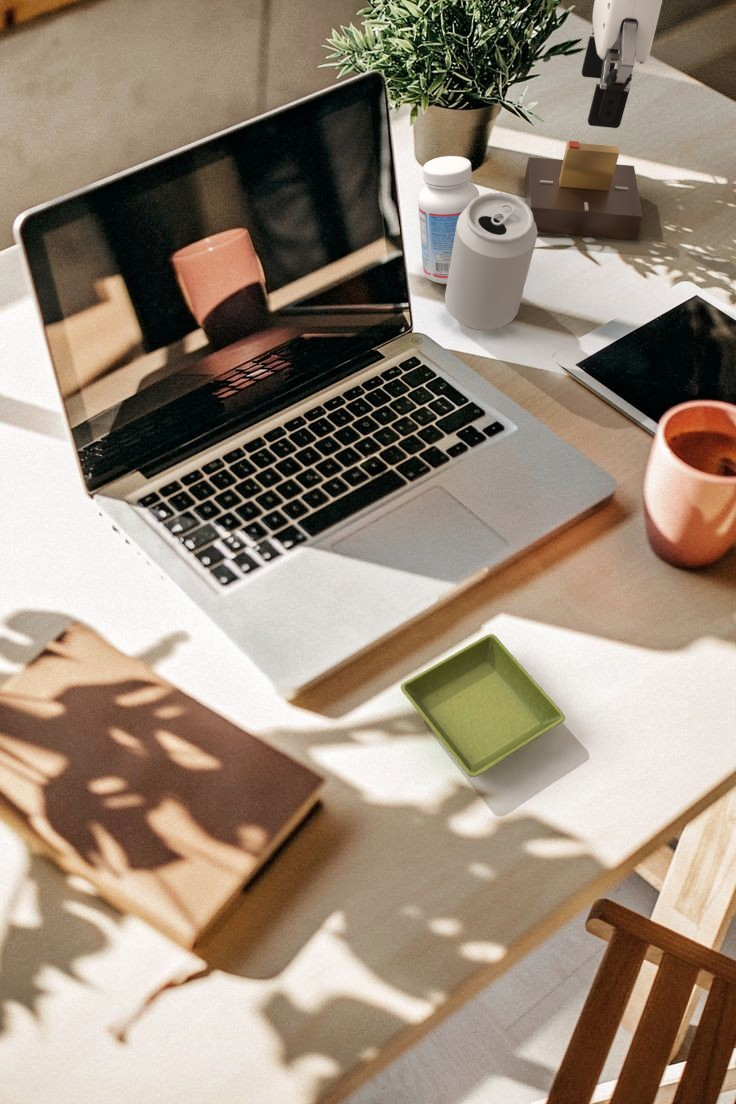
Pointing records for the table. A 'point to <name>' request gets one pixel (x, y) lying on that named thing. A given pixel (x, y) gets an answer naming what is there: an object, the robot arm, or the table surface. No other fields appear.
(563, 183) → the tap handle
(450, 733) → the green square dish
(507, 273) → the can
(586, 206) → the base
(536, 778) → the table surface
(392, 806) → the table surface
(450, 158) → the pill bottle
